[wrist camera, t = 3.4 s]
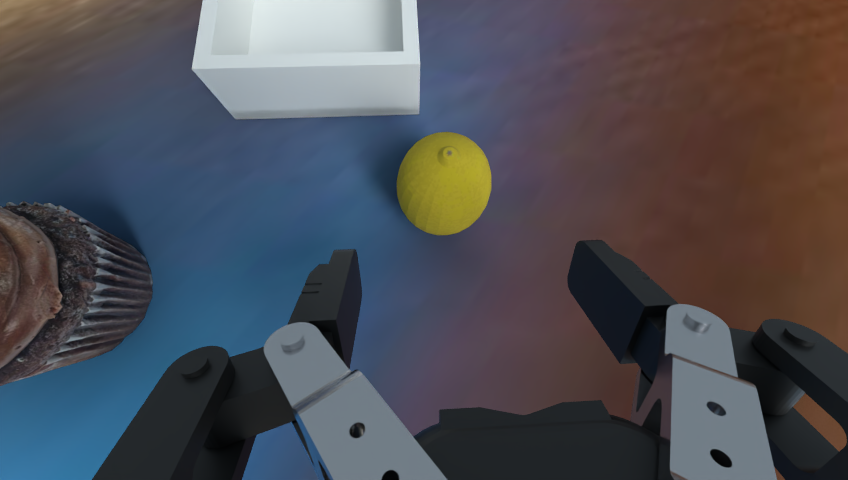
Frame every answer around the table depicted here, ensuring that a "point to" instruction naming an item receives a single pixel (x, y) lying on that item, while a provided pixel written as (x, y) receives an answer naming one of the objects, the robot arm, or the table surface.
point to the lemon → (444, 183)
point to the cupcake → (64, 289)
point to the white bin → (310, 57)
